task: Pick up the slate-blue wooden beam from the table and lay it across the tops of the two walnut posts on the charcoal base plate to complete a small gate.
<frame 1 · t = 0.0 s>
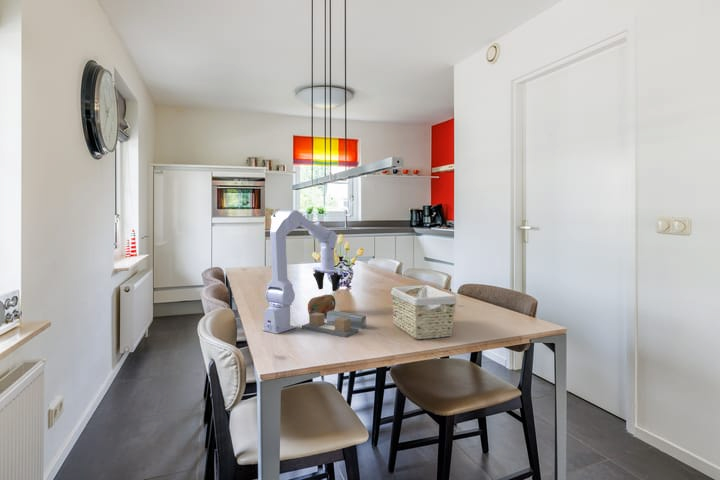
hand: (327, 290, 169), 10 cm above the table, tool pointing down, fingers open, 7 cm apart
beam: (346, 325, 152), on the table
tin: (321, 315, 167), on the table
gate base: (329, 329, 145), on the table
storage basket: (421, 330, 146), on the table
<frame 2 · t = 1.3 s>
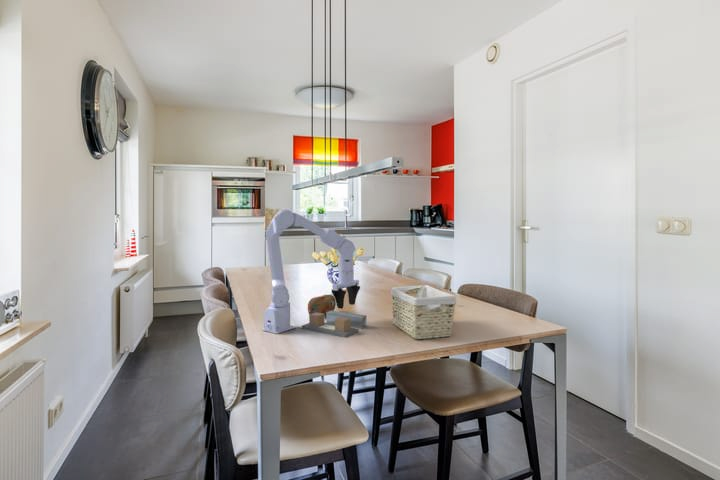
hand: (346, 306, 152), 7 cm above the table, tool pointing down, fingers open, 7 cm apart
nothing on the table moved.
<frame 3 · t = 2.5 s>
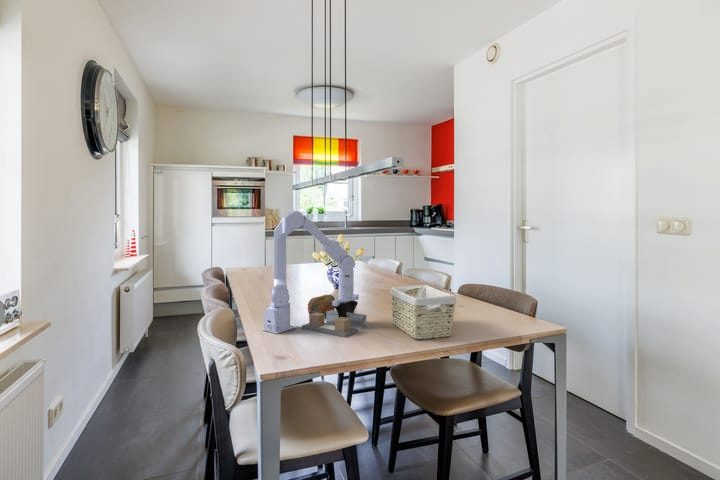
hand: (346, 321, 152), 1 cm above the table, tool pointing down, fingers closed on beam, 4 cm apart
beam: (346, 325, 152), on the table, touching gripper
everything else where it was.
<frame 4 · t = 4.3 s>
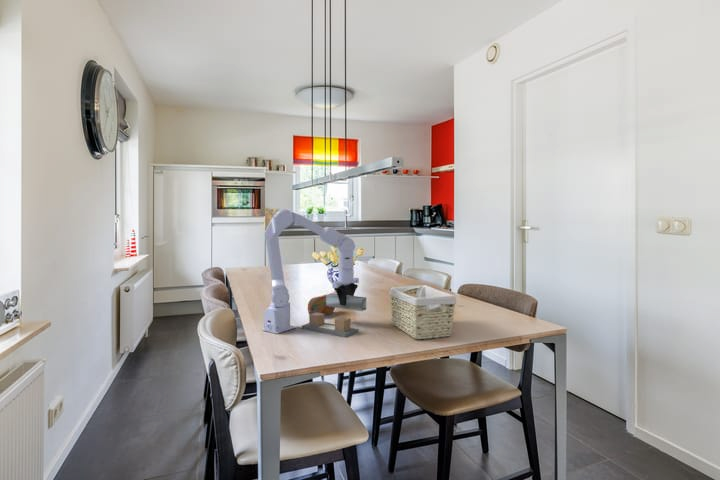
hand: (346, 303, 152), 8 cm above the table, tool pointing down, fingers closed on beam, 4 cm apart
beam: (346, 307, 152), point 7 cm above the table, touching gripper
everything else where it was.
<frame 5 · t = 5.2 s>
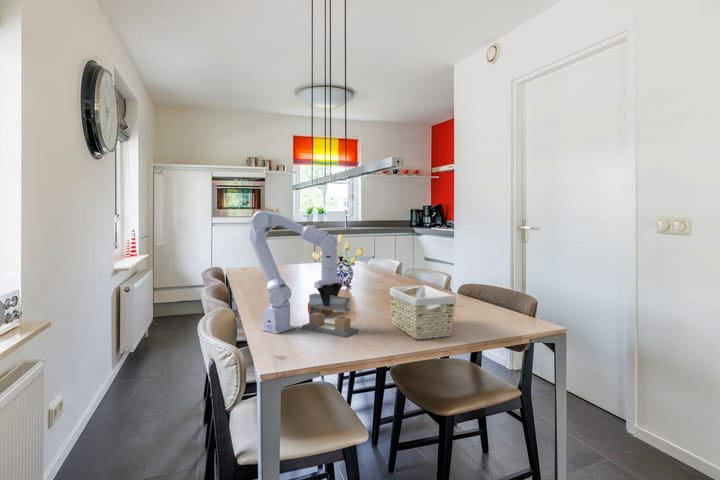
hand: (329, 304, 145), 9 cm above the table, tool pointing down, fingers closed on beam, 3 cm apart
beam: (329, 308, 145), point 8 cm above the table, touching gripper
everything else where it was.
when the fingers open (7 cm above the table, at t = 6.0 s): beam stays where it is, resting on gate base.
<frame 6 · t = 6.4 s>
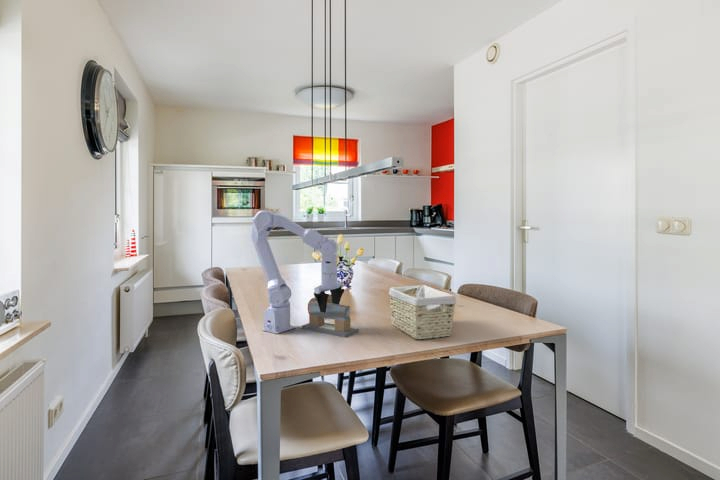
hand: (329, 310, 145), 7 cm above the table, tool pointing down, fingers open, 7 cm apart
beam: (329, 316, 145), point 5 cm above the table, touching gate base
everything else where it was.
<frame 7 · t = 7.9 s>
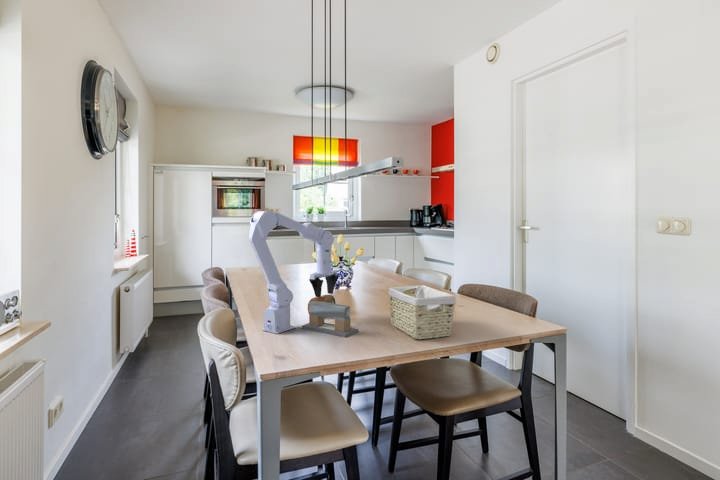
hand: (324, 295, 157), 10 cm above the table, tool pointing down, fingers open, 7 cm apart
nothing on the table moved.
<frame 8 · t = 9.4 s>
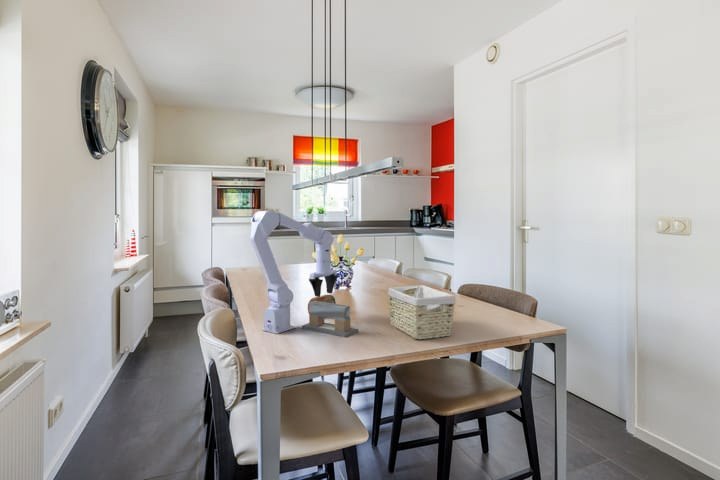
hand: (323, 294, 158), 10 cm above the table, tool pointing down, fingers open, 7 cm apart
nothing on the table moved.
at the end: beam 0.0 cm off-centre on the gate base, point 5.0 cm above the gate base's base; beam tilted 0°; the gripper is holding nothing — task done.
